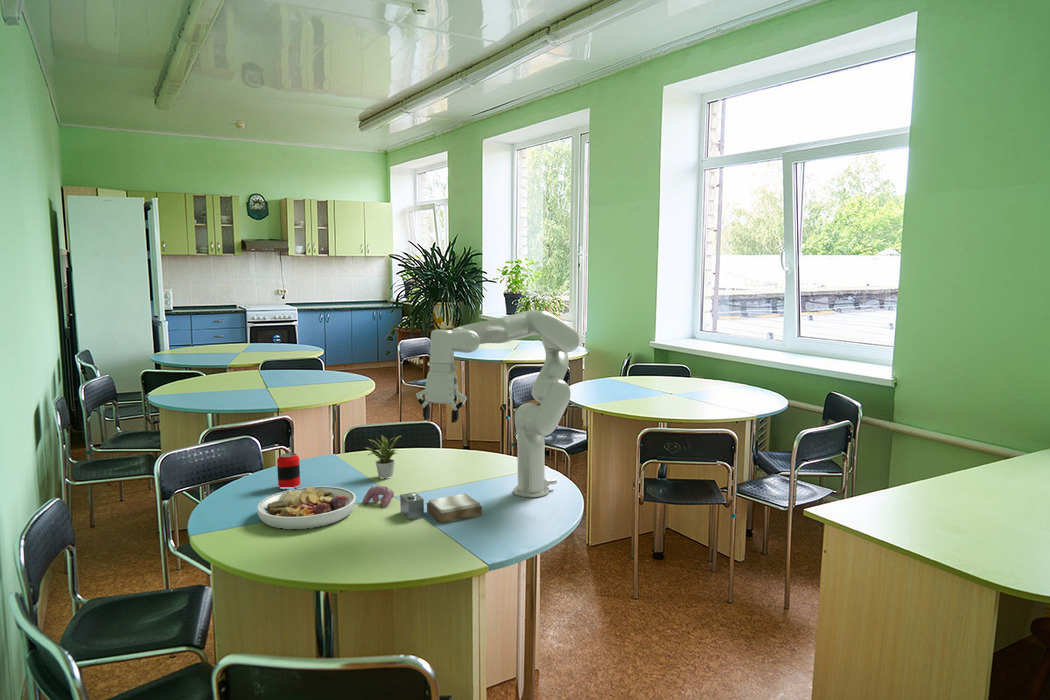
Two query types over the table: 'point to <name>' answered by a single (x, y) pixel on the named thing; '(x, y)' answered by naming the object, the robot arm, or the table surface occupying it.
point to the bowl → (306, 507)
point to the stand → (454, 508)
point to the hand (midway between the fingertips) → (440, 420)
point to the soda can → (288, 470)
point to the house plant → (384, 457)
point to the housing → (412, 505)
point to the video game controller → (375, 493)
